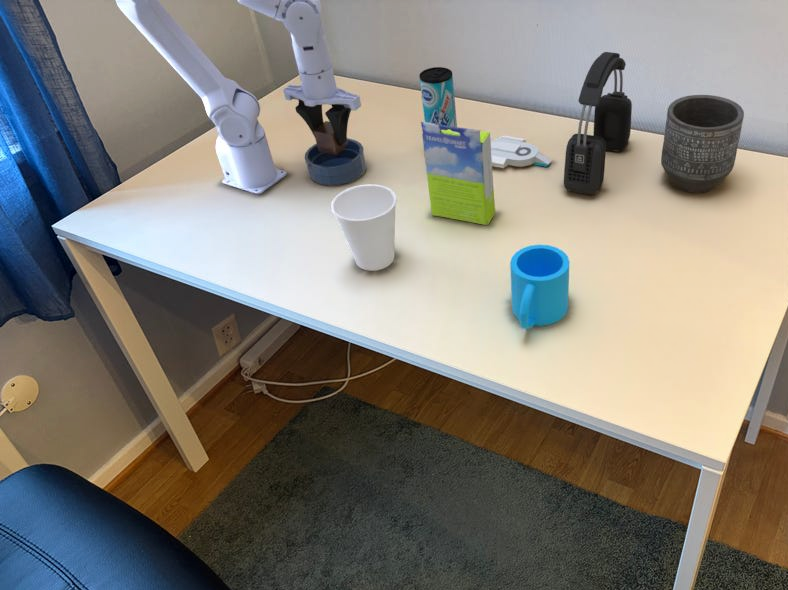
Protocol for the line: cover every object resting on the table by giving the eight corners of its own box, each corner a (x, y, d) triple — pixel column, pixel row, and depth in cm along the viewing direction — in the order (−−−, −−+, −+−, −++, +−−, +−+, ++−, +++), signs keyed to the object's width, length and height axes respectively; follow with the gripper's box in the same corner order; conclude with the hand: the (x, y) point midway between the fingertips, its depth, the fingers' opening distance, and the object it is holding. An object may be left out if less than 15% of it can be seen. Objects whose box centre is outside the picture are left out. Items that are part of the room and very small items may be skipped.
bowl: (297, 179, 137) (292, 159, 134) (334, 152, 143) (329, 133, 140) (342, 192, 132) (338, 173, 129) (378, 164, 139) (374, 145, 136)
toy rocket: (460, 162, 137) (459, 151, 136) (484, 138, 143) (483, 127, 141) (538, 179, 131) (538, 167, 130) (559, 153, 137) (560, 142, 136)
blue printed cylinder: (422, 152, 141) (412, 76, 130) (442, 139, 144) (434, 64, 133) (444, 161, 138) (436, 84, 127) (465, 148, 141) (459, 72, 130)
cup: (396, 282, 113) (386, 222, 105) (336, 277, 115) (321, 218, 107) (413, 244, 120) (404, 185, 112) (356, 240, 122) (343, 182, 114)
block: (318, 151, 134) (313, 131, 131) (330, 141, 136) (325, 120, 133) (336, 154, 132) (332, 134, 129) (348, 144, 135) (344, 124, 132)
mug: (522, 284, 111) (520, 240, 105) (574, 294, 108) (576, 249, 103) (495, 336, 103) (492, 292, 97) (551, 348, 101) (551, 303, 95)
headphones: (594, 202, 125) (601, 89, 111) (559, 195, 127) (562, 83, 113) (632, 140, 139) (642, 33, 125) (600, 135, 141) (606, 29, 127)
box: (496, 213, 125) (491, 118, 112) (487, 227, 122) (481, 131, 110) (440, 203, 128) (429, 110, 115) (430, 216, 125) (417, 122, 113)
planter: (724, 204, 122) (738, 133, 113) (651, 193, 126) (660, 123, 117) (735, 167, 130) (749, 98, 121) (666, 158, 134) (675, 90, 125)
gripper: (266, 72, 123) (286, 145, 133) (338, 82, 119) (354, 158, 128) (289, 55, 128) (307, 127, 137) (361, 64, 123) (374, 138, 133)
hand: (331, 141), depth 133 cm, fingers closed on block, 4 cm apart
